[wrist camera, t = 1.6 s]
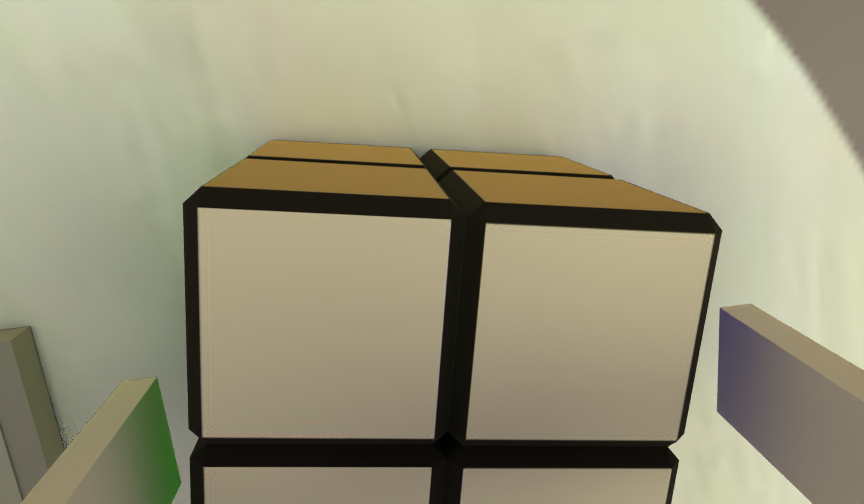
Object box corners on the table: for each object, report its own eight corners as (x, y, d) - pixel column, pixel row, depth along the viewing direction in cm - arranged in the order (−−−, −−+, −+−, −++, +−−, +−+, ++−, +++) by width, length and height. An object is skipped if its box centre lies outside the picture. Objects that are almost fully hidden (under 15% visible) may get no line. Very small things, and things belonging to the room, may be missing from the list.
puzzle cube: (536, 424, 24) (652, 653, 14) (262, 422, 23) (190, 670, 13) (568, 155, 22) (735, 215, 12) (263, 138, 20) (174, 188, 11)
